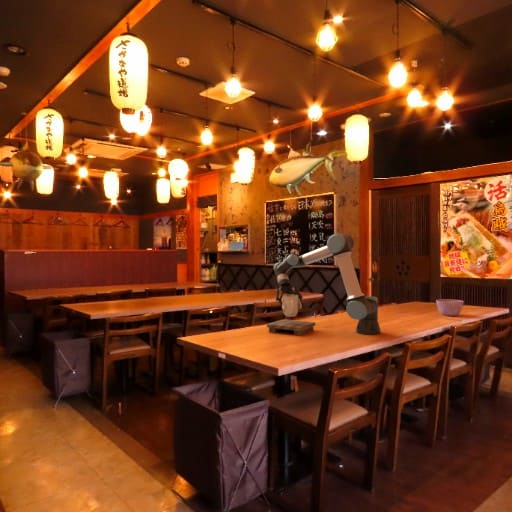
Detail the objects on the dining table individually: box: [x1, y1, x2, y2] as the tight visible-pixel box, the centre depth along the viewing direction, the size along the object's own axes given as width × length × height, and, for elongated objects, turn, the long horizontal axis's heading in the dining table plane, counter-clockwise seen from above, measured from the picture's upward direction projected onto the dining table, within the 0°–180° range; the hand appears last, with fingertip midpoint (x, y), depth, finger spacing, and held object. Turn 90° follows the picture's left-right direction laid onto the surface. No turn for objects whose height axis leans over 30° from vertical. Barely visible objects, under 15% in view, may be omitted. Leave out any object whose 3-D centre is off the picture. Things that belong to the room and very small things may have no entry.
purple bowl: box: [435, 298, 465, 317], centre depth 335 cm, size 20×20×12 cm
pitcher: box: [281, 293, 300, 318], centre depth 278 cm, size 11×18×14 cm, turn 4°
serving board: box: [266, 319, 316, 336], centre depth 278 cm, size 24×22×5 cm
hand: (292, 308), depth 275 cm, fingers closed on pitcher, 11 cm apart
